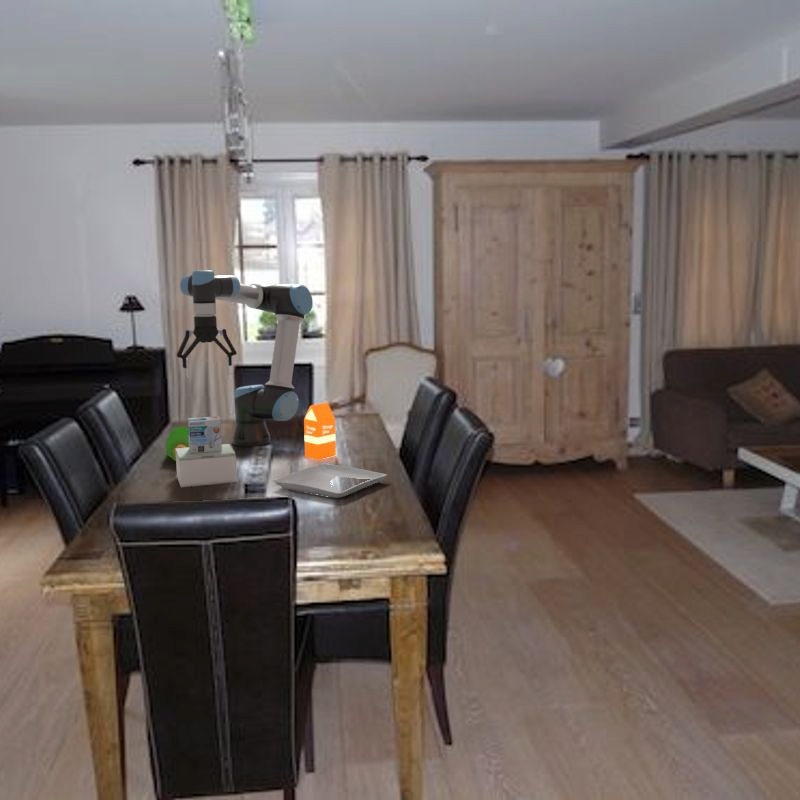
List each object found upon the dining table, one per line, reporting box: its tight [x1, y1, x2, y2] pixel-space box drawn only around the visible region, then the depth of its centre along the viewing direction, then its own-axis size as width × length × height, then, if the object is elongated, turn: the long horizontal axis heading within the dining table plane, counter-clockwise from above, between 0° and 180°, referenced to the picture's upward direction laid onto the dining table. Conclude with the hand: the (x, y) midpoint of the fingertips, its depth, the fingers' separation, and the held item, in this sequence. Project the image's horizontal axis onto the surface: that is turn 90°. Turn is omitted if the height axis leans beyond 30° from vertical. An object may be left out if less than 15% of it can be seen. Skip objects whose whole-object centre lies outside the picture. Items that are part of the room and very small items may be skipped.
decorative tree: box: [165, 426, 189, 462], centre depth 304 cm, size 11×12×30 cm
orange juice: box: [303, 402, 337, 461], centre depth 302 cm, size 8×9×20 cm
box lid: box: [175, 443, 236, 460], centre depth 271 cm, size 18×14×1 cm
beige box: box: [175, 453, 237, 489], centre depth 272 cm, size 18×14×9 cm
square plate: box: [272, 463, 388, 499], centre depth 264 cm, size 27×27×4 cm
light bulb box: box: [187, 415, 223, 453], centre depth 271 cm, size 11×7×11 cm, turn 109°
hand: (207, 376), depth 283 cm, fingers open, 13 cm apart
